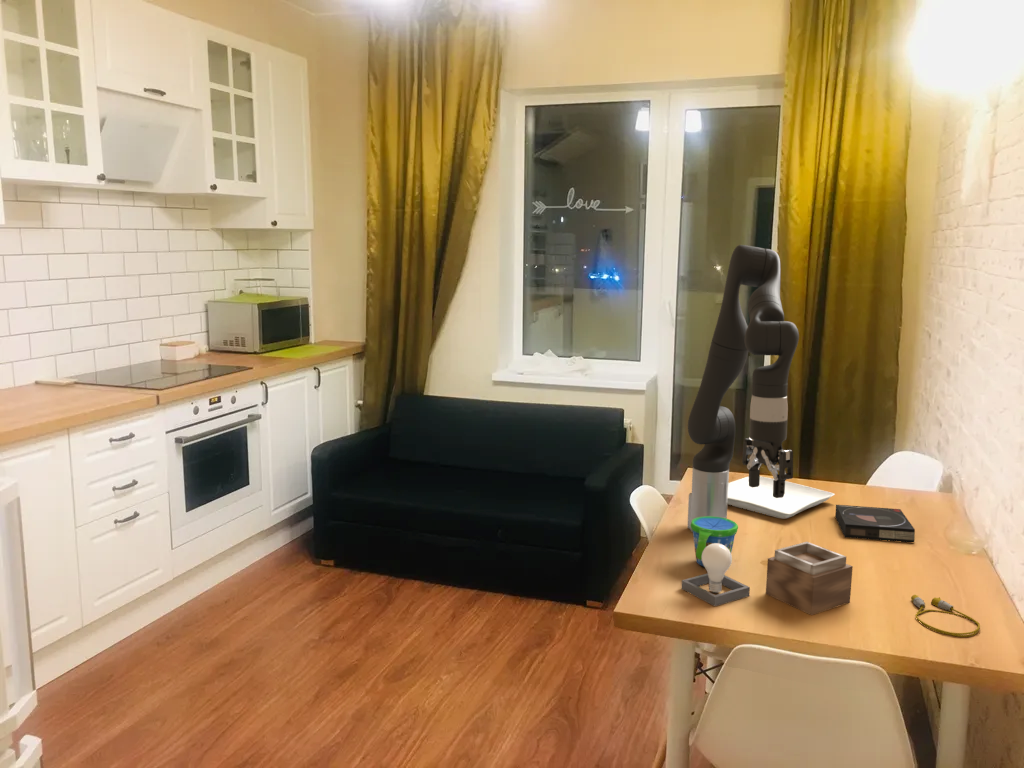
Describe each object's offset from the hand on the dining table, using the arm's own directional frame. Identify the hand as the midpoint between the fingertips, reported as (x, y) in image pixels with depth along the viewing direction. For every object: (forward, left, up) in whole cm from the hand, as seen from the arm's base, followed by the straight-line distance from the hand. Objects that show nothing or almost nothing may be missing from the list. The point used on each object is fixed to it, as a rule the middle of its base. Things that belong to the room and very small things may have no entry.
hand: (765, 491), depth 171 cm
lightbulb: (-5, -8, -23) cm, 25 cm away
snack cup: (-17, +3, -23) cm, 29 cm away
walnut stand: (+7, +7, -23) cm, 25 cm away
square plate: (-43, +51, -23) cm, 70 cm away
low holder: (-5, -8, -23) cm, 25 cm away
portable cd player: (-13, +57, -23) cm, 63 cm away
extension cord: (+28, +23, -23) cm, 43 cm away
